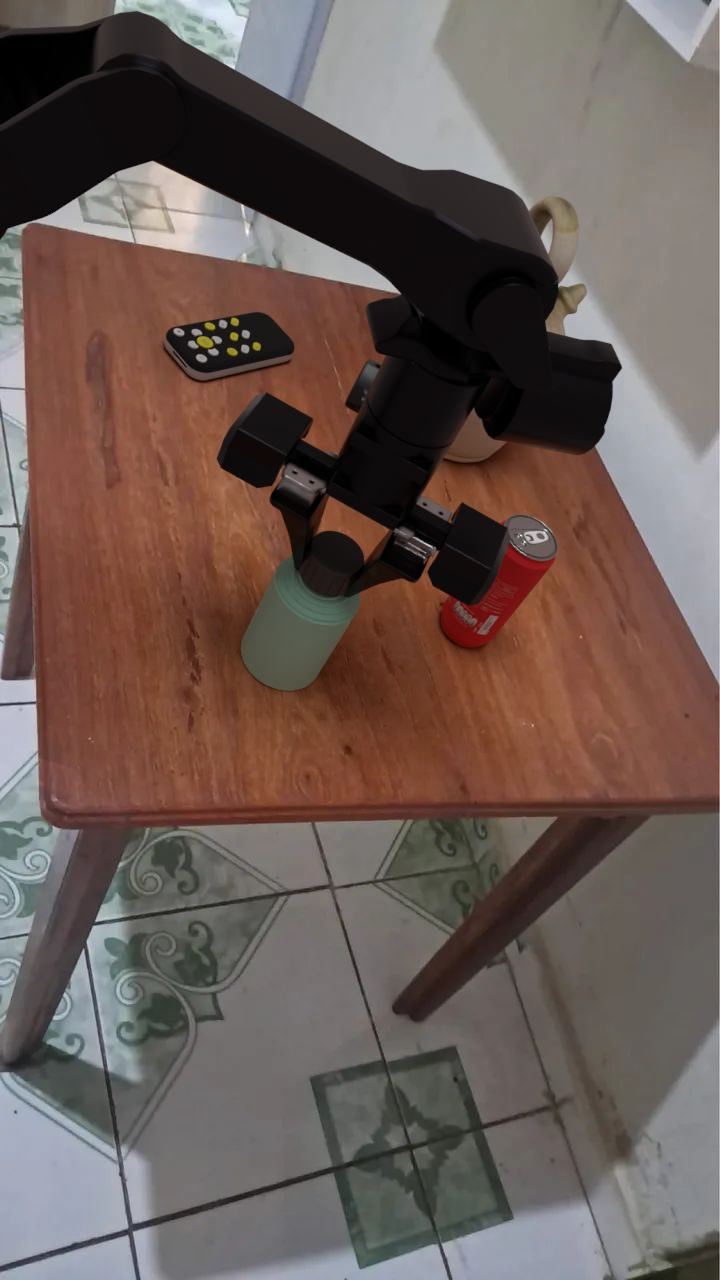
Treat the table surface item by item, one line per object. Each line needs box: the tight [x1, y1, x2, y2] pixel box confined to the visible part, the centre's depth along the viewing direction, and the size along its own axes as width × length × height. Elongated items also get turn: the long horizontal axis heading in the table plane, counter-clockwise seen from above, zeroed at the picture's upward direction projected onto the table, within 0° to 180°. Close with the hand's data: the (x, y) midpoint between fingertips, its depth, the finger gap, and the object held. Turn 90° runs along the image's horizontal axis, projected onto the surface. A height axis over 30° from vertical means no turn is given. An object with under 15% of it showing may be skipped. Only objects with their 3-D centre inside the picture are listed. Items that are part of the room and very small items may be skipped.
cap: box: [299, 530, 365, 597], centre depth 65 cm, size 4×4×2 cm
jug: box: [443, 195, 588, 464], centre depth 90 cm, size 15×16×25 cm
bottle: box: [240, 555, 361, 692], centre depth 69 cm, size 6×6×12 cm
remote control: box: [163, 311, 295, 381], centre depth 92 cm, size 6×13×2 cm, turn 131°
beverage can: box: [440, 513, 559, 649], centre depth 78 cm, size 5×5×12 cm
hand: (323, 579), depth 67 cm, fingers closed on cap, 3 cm apart
